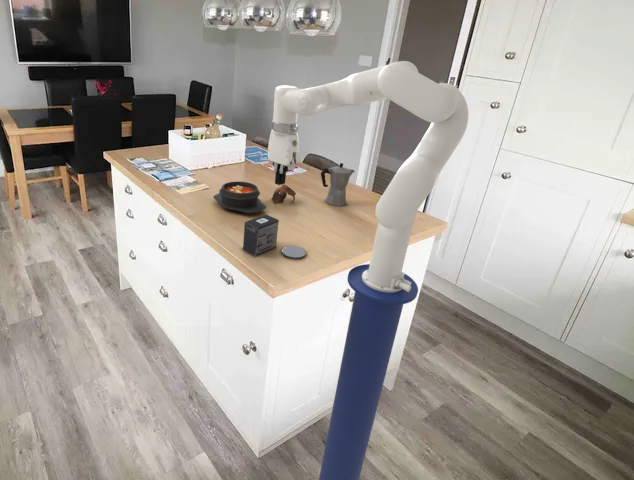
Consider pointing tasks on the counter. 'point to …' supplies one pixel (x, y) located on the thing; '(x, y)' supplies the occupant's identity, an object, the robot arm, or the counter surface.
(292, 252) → the slate coaster
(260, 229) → the small box
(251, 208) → the casserole
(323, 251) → the counter surface
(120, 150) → the counter surface
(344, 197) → the coffeepot
